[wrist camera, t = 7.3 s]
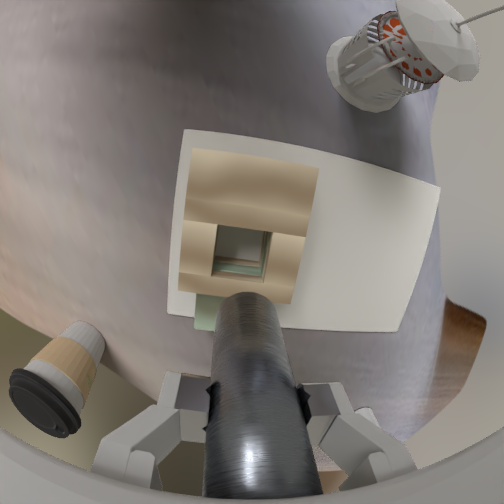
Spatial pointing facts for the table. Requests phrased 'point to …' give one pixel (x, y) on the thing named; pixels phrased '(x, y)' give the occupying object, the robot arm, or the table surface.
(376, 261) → the mat
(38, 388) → the coffee cup
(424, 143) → the table surface
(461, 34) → the french press
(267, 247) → the clevis
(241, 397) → the pin
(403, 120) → the table surface
